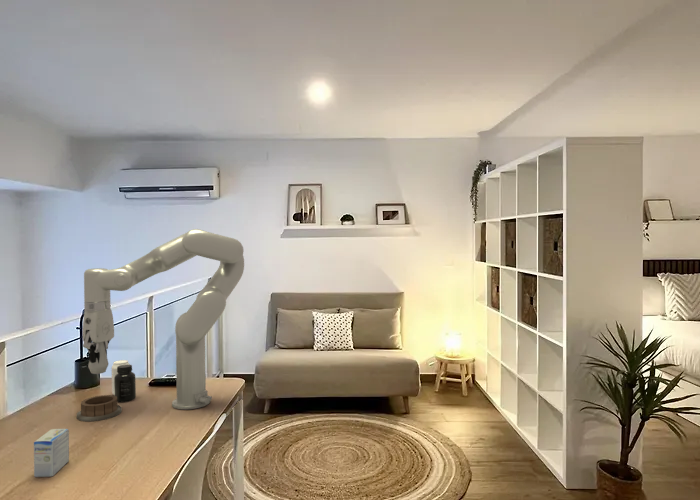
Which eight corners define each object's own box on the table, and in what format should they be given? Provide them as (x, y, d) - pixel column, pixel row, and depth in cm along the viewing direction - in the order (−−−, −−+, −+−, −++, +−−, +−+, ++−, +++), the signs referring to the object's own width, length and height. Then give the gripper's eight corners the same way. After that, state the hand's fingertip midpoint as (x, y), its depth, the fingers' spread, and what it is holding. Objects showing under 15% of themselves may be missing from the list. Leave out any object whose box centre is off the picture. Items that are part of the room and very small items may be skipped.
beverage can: (118, 391, 181) (118, 359, 180) (134, 391, 180) (133, 359, 180) (108, 396, 174) (107, 363, 174) (124, 397, 174) (123, 364, 173)
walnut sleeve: (129, 411, 159) (129, 397, 159) (91, 424, 148) (90, 409, 148) (107, 404, 166) (106, 391, 166) (68, 416, 155) (67, 402, 154)
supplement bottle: (139, 396, 174) (139, 363, 174) (129, 403, 167) (128, 368, 167) (121, 396, 175) (121, 363, 174) (110, 402, 168) (109, 368, 168)
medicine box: (51, 462, 122) (50, 428, 122) (69, 461, 123) (69, 428, 123) (33, 477, 114) (32, 441, 114) (53, 476, 115) (52, 440, 115)
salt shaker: (112, 370, 158) (112, 331, 158) (98, 375, 153) (97, 334, 153) (98, 369, 160) (98, 330, 160) (84, 373, 155) (83, 333, 154)
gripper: (91, 310, 147) (92, 370, 148) (123, 303, 164) (123, 357, 164) (69, 310, 148) (70, 369, 149) (102, 303, 165) (103, 356, 165)
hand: (98, 362), depth 156 cm, fingers closed on salt shaker, 3 cm apart
